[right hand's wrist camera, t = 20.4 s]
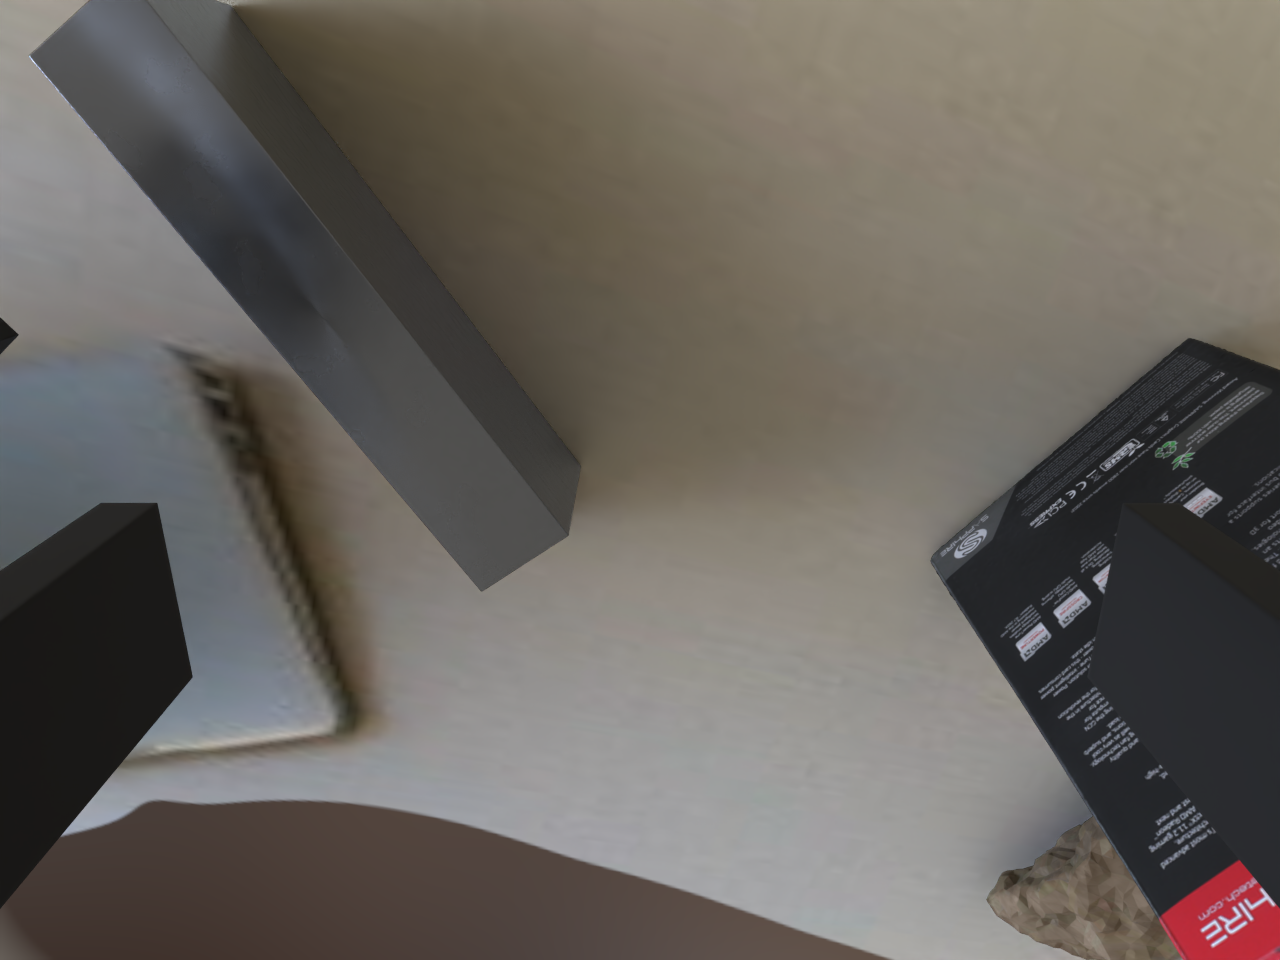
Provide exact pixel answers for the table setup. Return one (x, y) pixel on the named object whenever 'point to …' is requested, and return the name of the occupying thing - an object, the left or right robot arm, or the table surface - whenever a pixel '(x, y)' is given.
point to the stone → (1082, 902)
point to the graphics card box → (1071, 604)
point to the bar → (319, 269)
